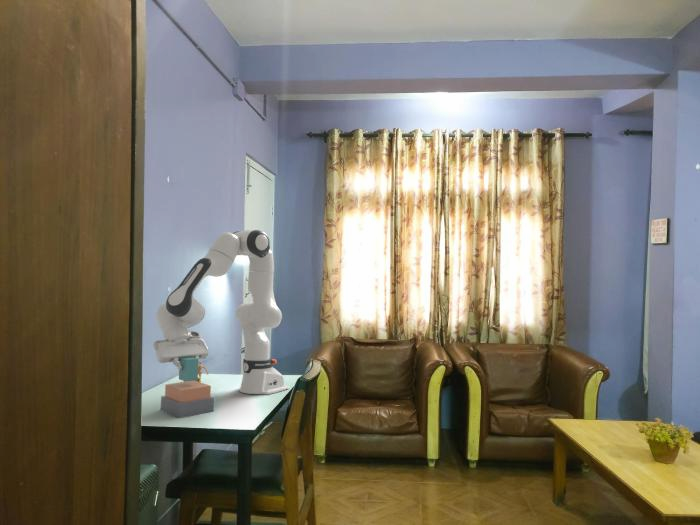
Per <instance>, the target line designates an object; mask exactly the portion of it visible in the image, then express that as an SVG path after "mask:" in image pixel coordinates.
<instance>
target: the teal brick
mask: <svg viewBox="0 0 700 525" xmlns="http://www.w3.org/2000/svg"><path fill="white" fill-rule="evenodd" d="M198 360H199V361H200V359H198V358H194V357H186V358H180V361H179V363H181V364H183V366H184V369H183V370H178V380H180V381H181V382H187V381H193V380H198V377H199V374H198V363H199V362H198Z"/></svg>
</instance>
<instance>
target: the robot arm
mask: <svg viewBox="0 0 700 525" xmlns="http://www.w3.org/2000/svg"><path fill="white" fill-rule="evenodd" d="M270 248H271V246H270V238H269V235H268V234H267V233H266V232H265V231H262V230H259V229H246V230H241V231H234V232H225V231H224V232H222V233H220V235H219V236H218V237H217V238H216V239H215V241H214V242H213V244H212V245H211V246H210V248H209V250H208V251H207V252H206V254H205V256H204V257H203V258H200V259H199V260H198V261H197V262H196V263H195V264H194V265H193V266H192V267H191V269H190V270H189V272H188V273H187V274H186V275H185V277H184V278H183V279H182V281H181V282H180V283H179V285H178V286H177V287H176V288H175V289H173V291H172V292H170V294H168V296H167V298H166V301H165V303H163V304H162V305H160V307H158V309H157V312H156V319H157V322H158V325H159V328H160V330H161V332H162V334H163V338H164V339H162V340H161V339H159V340H158V339H157V340H156V341H154V342H153V348H154V350H155V355H156V359H157V361H158V362H159V363H161V364H165V363H172V364H173V365H174V366H175V367H177V369H178V371H179V370H183V369H184V366H183V364H181V363H180V358H186V357H194V358H198V359H199V360H198V368H199V362H200V360H201V359H202V360H203V359H206V358H207V357H208V355H209V354H210V350H209V348H208V345H207V343H206V341H205V340H204V339H203V338H201V337H202V334H201V332H197V331H193V330H189V328H191V327H194V326H196V325H198V324H200V323H201V322H202V321H203V319H204V318H205V316H206V309H205V307H204V306H203V305H202V304H201V303H200V302H199V301H198V300H197V299H195V298H194V293H195V291H196V290H197V288H199V285H200V284H201V283H202V281H203V280H204V279H205V278H206V277H222V276H225V275H226V274H227V273H228V271H230V269H231V267H232V266H233V263H234V261H235V260H236V257H237V256H247V257H248V260H249V267H248V278H247V279H248V280H247V289H248V291H249V293H250V294H251V298H252V300H253V301H249V302H244V303H241V304H240V305H239V306H237V309H236V311H235V318H236V320H237V322H238V323H239V325H240V327H241V331H242V335H243V338H244V356H243V357H244V358H242V359H243V361H242V370H243V371H242V379H241V383H240V387H239V390H238V391H239V392H241V393H243V394H247V395H272V394H275V393H278V392H282V391H287V390H289V389H290V387H289V385H288V384H285V380H284V379H285V378H284V376H283V374H282V373H281V372H279V370H277V369H276V368H274V367H273V365H277V363H278V361H277V359H275V358H273V359H271V358H270V351H271V350H270V349H271V342H270V339H269V338H268V337H267V335H266V332H265V330H270V329H275V328H277V327H279V325H280V324H281V322H282V319H283V313H282V311H281V309H280V308H279V307H278V305H277V303H276V298H275V294H274V272H275V263H274V261H275V260H274V254H273V251H272V250H271V249H270ZM286 389H287V390H286Z"/></svg>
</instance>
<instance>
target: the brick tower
mask: <svg viewBox="0 0 700 525" xmlns="http://www.w3.org/2000/svg"><path fill="white" fill-rule="evenodd" d="M211 388H212V386H211V385H209V384H207V383H203V382H202V381H201V382H197V381H186V382H185V381H181V382H174V383H168V384H165V388H164V390H165V391H164V392H165V394H164V395H162V396H160V411H162V412H165V413H167V414H169V415H172V416H174V417H176V418H180V419H181V418H184V417H190V416H196V415H200V413H201V414H206V413H211V411H212V412H214V411H215V410H214V408H215V407H214V406H215V405H214V404H215V397H213V396H211ZM205 412H206V413H205Z"/></svg>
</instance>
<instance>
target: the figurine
mask: <svg viewBox="0 0 700 525" xmlns="http://www.w3.org/2000/svg"><path fill="white" fill-rule="evenodd" d="M198 363H199V362H198ZM202 369H205V372H206V375H209V372H208V368H207V367H206V366H204V365H202V363H201V364H200V363H199V368H198V377H199V382H200V380H201V379H202V378H201V377H202V374H203V371H202ZM196 381H197V380H196Z"/></svg>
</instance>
